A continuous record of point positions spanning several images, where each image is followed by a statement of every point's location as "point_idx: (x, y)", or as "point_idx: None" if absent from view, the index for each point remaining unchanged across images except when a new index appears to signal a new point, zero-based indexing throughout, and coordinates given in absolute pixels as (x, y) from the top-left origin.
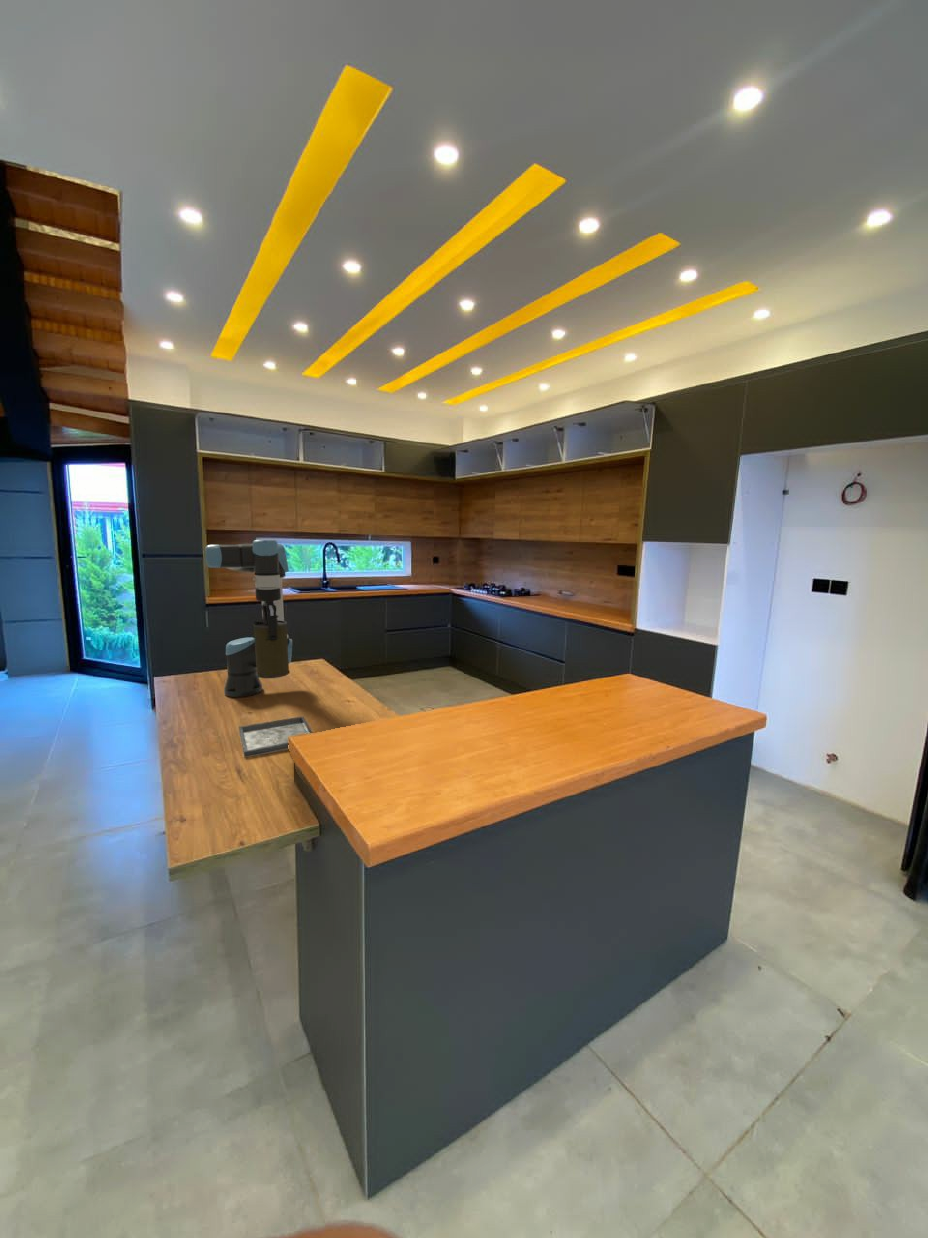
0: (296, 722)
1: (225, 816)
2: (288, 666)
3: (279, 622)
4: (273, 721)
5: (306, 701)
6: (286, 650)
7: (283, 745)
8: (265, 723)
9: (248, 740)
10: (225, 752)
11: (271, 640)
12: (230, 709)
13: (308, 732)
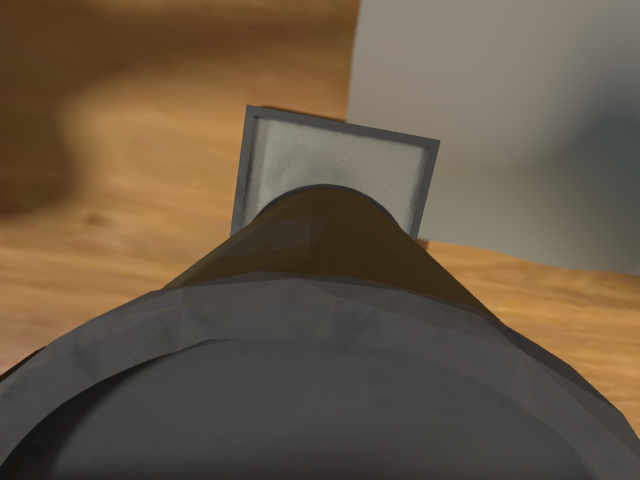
0: (257, 133)
1: (612, 401)
2: (369, 202)
3: (141, 384)
4: (238, 198)
5: (73, 27)
6: (414, 241)
7: (417, 229)
8: (240, 222)
9: None
10: None
11: None
12: (38, 259)
13: (371, 137)
